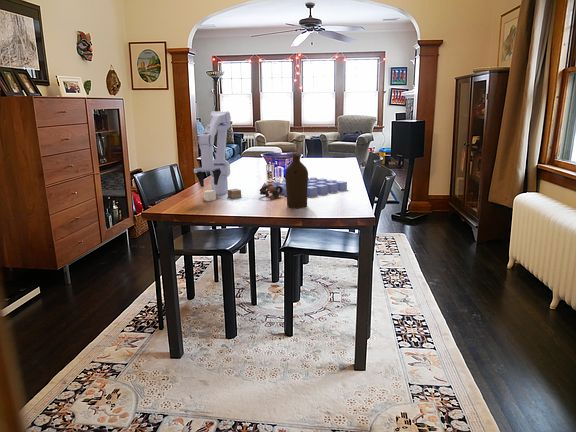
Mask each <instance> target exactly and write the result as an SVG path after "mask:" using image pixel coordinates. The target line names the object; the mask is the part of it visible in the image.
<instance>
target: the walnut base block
mask: <svg viewBox="0 0 576 432" xmlns="http://www.w3.org/2000/svg"><path fill="white" fill-rule="evenodd" d="M227 195H228V198H231V199H235V198H241V195H242V190H241V189H238V188H231V189H230V188H229V189H228V194H227Z"/></svg>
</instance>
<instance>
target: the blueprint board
mask: <svg viewBox="0 0 576 432" xmlns="http://www.w3.org/2000/svg"><path fill="white" fill-rule="evenodd" d="M216 198H219V199H222V200H226V201H229V202H231V203H237V202H242V201H248V200H254V197H249V196H246V195H242V194H241V198H235V199H231V198H228V194H222V195H218V196H217V195H216Z"/></svg>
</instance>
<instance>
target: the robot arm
mask: <svg viewBox="0 0 576 432" xmlns="http://www.w3.org/2000/svg"><path fill="white" fill-rule="evenodd" d="M231 117H232V116H231V112H230V111H229V110H226V111H219V110H218V111H211V112H210V114H209V119H210V122H209V124H208V125H206V127H205V128H204V131H203V132H202V133H201V134H200V135H198V137H197V142H198V145H199V149H200V156H201V167H198V168H193V173H194V174H195V176H196V177H197V180H198V183H199V185H200V187H201V188H202V187H203V188H204V187H205V185H204V176H205V174H204V172H205V173H206V172H209V174H210V176H211V177H212V179H211V182H210V183H211V190H214V191H216V196H217V195H218V196H223V195H228V190H229V184H228V183H229V182H228V177H229V176H230V174H231V164H230V162H229V161H227V159H226V152H227V151H226V150H227V134H228V130H229V129H230V128H231V122H232V121H231V120H232V119H231ZM216 134H217V136H216ZM215 136H216V137H217V140H216V153H215V155H216V156H215V159H214V153H213V152H214V151H213V149H214V147H213V146H214V144H215Z"/></svg>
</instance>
